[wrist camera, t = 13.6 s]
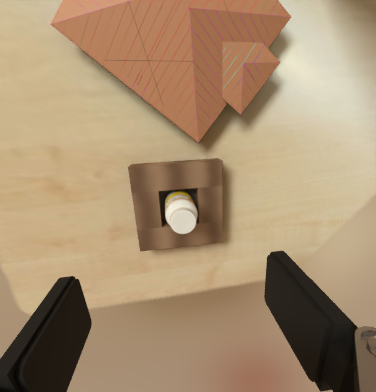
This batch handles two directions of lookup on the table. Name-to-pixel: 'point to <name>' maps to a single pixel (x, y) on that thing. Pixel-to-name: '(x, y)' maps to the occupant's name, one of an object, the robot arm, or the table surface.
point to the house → (180, 50)
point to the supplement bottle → (180, 211)
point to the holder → (157, 192)
